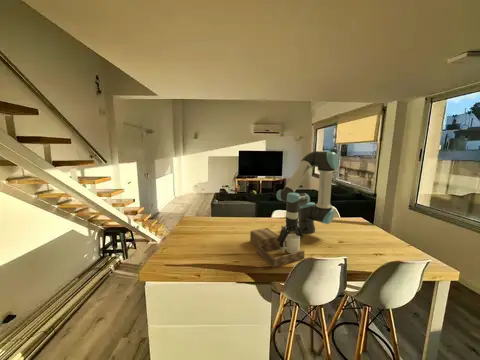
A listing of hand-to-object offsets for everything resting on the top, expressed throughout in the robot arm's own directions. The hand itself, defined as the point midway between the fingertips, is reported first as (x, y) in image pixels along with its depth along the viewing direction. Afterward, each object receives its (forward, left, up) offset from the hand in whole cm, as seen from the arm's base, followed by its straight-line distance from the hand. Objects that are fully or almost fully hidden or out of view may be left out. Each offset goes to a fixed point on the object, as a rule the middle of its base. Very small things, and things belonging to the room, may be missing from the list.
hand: (290, 249), depth 140 cm
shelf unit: (+8, -8, -2) cm, 12 cm away
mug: (0, 0, -1) cm, 1 cm away
